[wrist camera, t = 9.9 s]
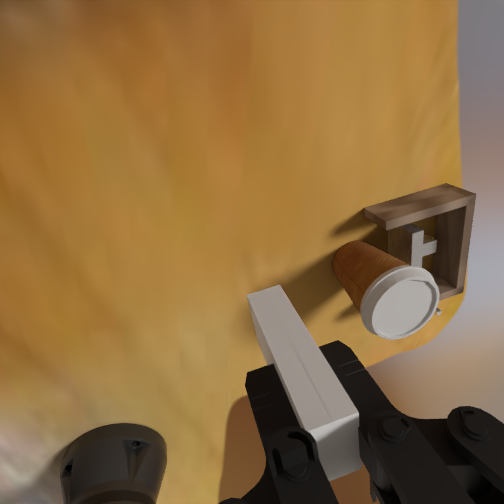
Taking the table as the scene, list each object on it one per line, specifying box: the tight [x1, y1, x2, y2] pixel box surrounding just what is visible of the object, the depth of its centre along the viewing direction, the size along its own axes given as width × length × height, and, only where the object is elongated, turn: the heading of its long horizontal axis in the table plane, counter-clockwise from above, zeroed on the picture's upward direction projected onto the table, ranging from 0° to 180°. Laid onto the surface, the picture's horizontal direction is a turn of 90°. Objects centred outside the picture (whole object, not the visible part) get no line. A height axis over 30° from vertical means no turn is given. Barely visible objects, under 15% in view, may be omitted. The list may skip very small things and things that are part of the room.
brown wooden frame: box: [364, 183, 476, 301], centre depth 48 cm, size 12×16×5 cm
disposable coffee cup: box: [332, 241, 440, 340], centre depth 44 cm, size 10×10×12 cm
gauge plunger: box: [388, 223, 441, 316], centre depth 47 cm, size 6×11×9 cm, turn 12°
